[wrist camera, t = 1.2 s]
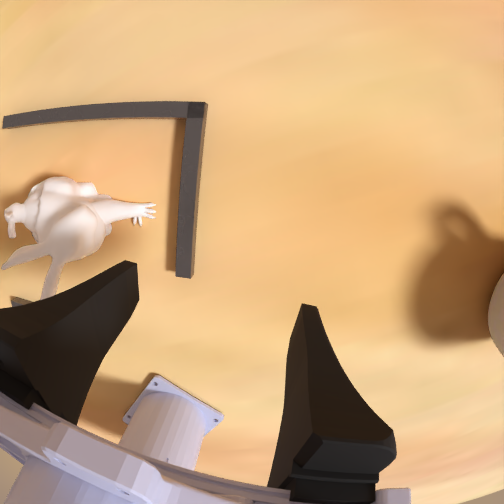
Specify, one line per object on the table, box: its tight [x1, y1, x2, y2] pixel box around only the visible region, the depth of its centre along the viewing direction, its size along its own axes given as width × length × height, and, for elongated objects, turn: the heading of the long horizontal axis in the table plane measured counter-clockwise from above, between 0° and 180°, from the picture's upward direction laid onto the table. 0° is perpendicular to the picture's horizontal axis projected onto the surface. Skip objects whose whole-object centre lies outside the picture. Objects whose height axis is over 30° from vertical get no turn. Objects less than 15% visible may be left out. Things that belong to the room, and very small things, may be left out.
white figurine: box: [1, 176, 156, 300], centre depth 20 cm, size 12×8×10 cm, turn 69°
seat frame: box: [3, 101, 208, 307], centre depth 24 cm, size 20×21×1 cm
